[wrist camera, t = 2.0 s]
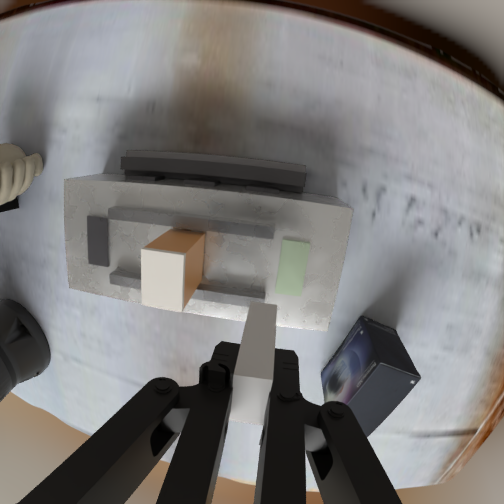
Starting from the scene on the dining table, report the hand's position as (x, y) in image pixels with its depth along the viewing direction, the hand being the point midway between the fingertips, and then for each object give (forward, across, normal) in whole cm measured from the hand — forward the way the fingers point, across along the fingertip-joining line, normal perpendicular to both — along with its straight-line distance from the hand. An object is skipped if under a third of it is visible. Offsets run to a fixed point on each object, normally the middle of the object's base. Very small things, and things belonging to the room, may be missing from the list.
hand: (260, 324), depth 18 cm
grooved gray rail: (+19, -8, +7) cm, 21 cm away
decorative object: (+19, -36, +6) cm, 41 cm away
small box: (+19, +14, -14) cm, 27 cm away
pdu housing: (+19, -8, 0) cm, 20 cm away
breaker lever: (+10, -7, 0) cm, 13 cm away
